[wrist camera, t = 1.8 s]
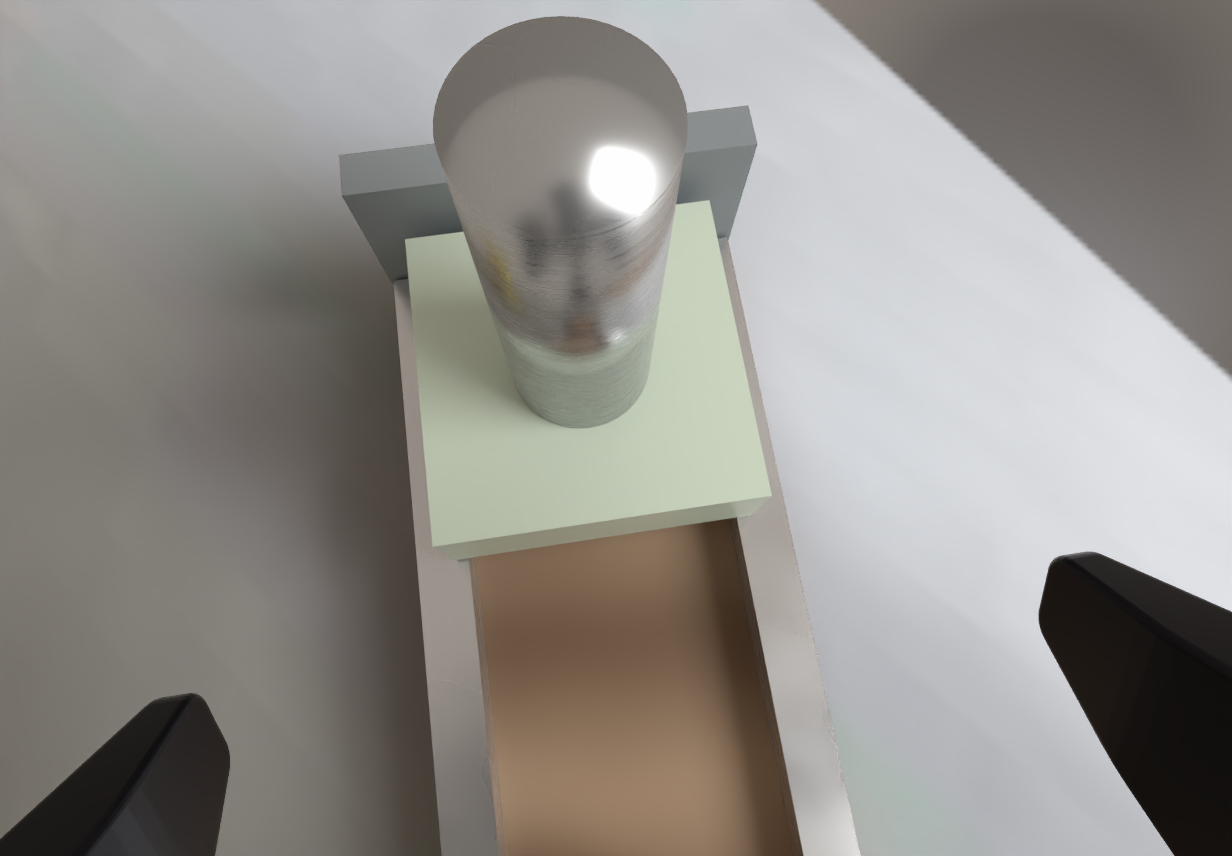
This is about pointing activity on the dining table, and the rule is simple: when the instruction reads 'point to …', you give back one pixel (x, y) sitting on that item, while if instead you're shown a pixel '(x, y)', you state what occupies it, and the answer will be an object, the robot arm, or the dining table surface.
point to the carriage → (574, 305)
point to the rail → (616, 626)
